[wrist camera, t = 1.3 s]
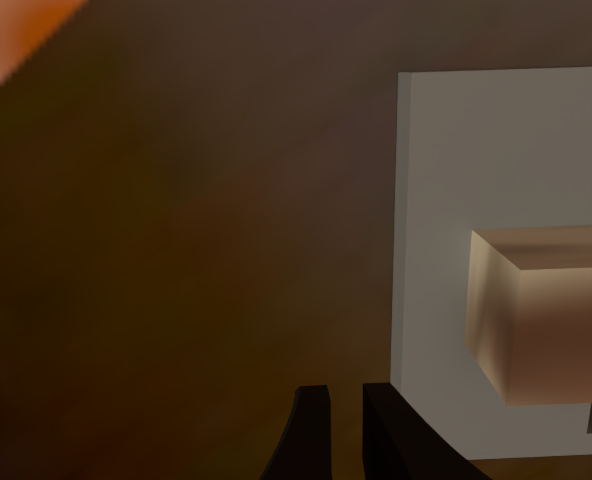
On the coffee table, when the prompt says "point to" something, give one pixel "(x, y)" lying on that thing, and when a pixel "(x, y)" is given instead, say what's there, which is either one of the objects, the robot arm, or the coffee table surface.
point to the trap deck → (481, 215)
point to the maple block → (532, 312)
